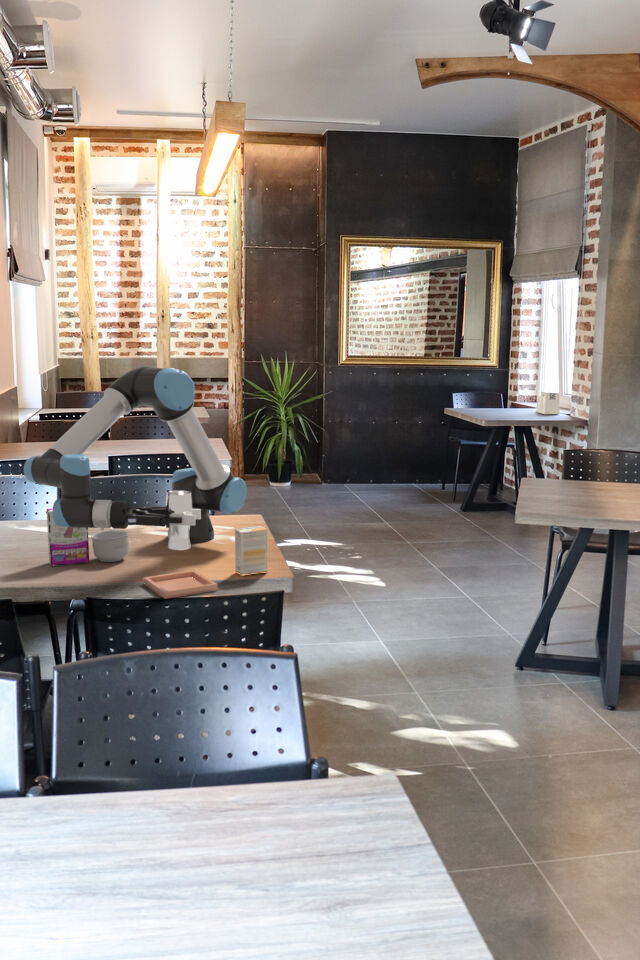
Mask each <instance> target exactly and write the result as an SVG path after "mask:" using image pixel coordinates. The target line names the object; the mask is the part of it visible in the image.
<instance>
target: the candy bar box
mask: <svg viewBox="0 0 640 960" xmlns="http://www.w3.org/2000/svg"><path fill="white" fill-rule="evenodd" d="M52 511H53V507H52V508H46V525H47V544H48V547H47V548H48V561H49V562H50V563H49V565H50V566H51V567H54V566H53V565H62V566H69V565H68V564H72V565H79V564H80V563H82V564H88V563H90V549H89V548H90V547H89V546H90V545H89V528H71V527H63V526H57V525H56V524H55V523H54V521H53V517H52ZM80 565H81V564H80Z"/></svg>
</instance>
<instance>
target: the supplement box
mask: <svg viewBox="0 0 640 960" xmlns="http://www.w3.org/2000/svg"><path fill="white" fill-rule="evenodd" d="M234 541H235V542H234V543H235V544H234V548H235V549H234V550H235V551H234V552H235V553H234V556H235V557H234V558H235V560H234V561H235V563H234V564H235V573H236V572H238V573H240V574H241V575H242V574H251V573H261V572H267V573H268V528H265V527H263V526H261V525H259V526H249V527H241V528H235V529H234Z"/></svg>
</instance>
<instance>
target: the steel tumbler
mask: <svg viewBox="0 0 640 960" xmlns="http://www.w3.org/2000/svg"><path fill="white" fill-rule="evenodd" d="M165 506H166V515H169V517H170V514H185V515H192V496H191V492H190V491H184V490H175V491H172V490H169V491H166V497H165ZM168 529H169V539H168V545H167V549H168V550H171V551H186V550H189V549H191V548H192V545H191V542H190V539H189V530H190V525H170V527H169V528H168Z"/></svg>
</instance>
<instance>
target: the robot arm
mask: <svg viewBox="0 0 640 960" xmlns="http://www.w3.org/2000/svg"><path fill="white" fill-rule="evenodd" d="M195 390H196V387H195V383H194V381H193V380H192V377H191V376H190V375H189V374H188V373H187V372H186V371H184V370H181V369H177V368H173V367H166V368H164V367H151V366H139V367H135V368H133V369H131V370H128V371H126V373H124V374H122V375H121V376H119V377H118V378H117V379H115V380H114V381H113V382H112V383H111V384H110V385H109V386H108V387H107V388H106V389H105V390H104V391H103V396H102V398H100V399H99V401H97V402H96V403H95V404H94V405H93V406H91V408H90V409H89V410H88V411H86V413H85V414H84V415H83V416H81V417H80V419H79V420H77V421H76V422H75V423H74V424H73V425H72V426H71V427H70V428H68V430H67V431H66V432H64V433H63V435H62V436H60V438H59V439H57V440H56V442H54V443H53V444H52V445H51V446H50V447H49V448H48V449H47V450H46V451H45V452H44V453H43V454H42V455H33V456H31V457H29V458H27V460H26V461H25V462H24V465H23V474H24V477H25V478H26V480H28V481H29V482H31V483H33V484H37V485H38V486H39V485H40V486H47V487H53V488H58V489H59V488H60V491H61V494H60V495H61V497H60V498H57V499H56V500H55V501H54V502H53V504H52V508H53V511H52V517H53V521H54V523H55V524H56V525H57V526H63V527H71V528H88V529H90V528H92V529H100V530H101V531H103V530H104V529H111V528H112V529H113V530H115V529H118V530H125V529H127V528H128V527H129V526H146V527H148V526H150V527H165V528H166V529H167V539H168V540H169V527H170V525H190V530H189V539H190V543H201V542H207V541H210V540H213V539H214V538H215V530H214V526H213V523H212V520H211V517H210V514H209V512H210V511H212V512H216V513H222V514H231V515H232V514H235V513H237V512H239V510H241V508H242V507H243V506H244V503H245V501H246V498H247V493H248V491H247V488H248V487H247V484H246V482H245V481H244V479H242V478H241V477H238V476H236V477H235V476H234V475H233V473H232V472H233V471H231V469H230V467H229V466H228V465H227V464H223V463H222V462H221V460H220V459H219V456H218V455H217V453H216V450H215V449H214V446H213V445H212V443H211V441H210V439H209V438H208V437H209V436H208V435H207V434H206V432H205V430H204V428H203V426H202V424H201V423H200V420H199V419H198V417H197V415H196V413H195V411H194V409H193V408H194V405H195V397H196V393H195ZM140 407H146V408H152V409H153V411H154V413H155V414H156V416H157V417H158V418H157V419H159V420H160V421H162V422H165V423H167V425H168V427H169V429H170V430H171V432H172V434H173V436H174V438H175V439H176V442H177V443H178V445H179V447H180V448H181V450H182V452H183V454H184V456H185V457H186V459H187V461H188V463H189V465H190V466H191V467H189V468H181V469H177V470H175V471H174V472H173V473H172V481H171V488H172V489H171V491H175V490H184V491H190V492H191V496H192V515H185V514H170V517H169V515H166V505H165V506H164V505H163V506H159V505H158V506H157V505H156V506H155V505H154V506H153V505H152V506H150V505H148V506H147V505H140V506H134V508H131V507H130V503H129V502H128V501H127V500H114V501H112V500H111V499H92V498H91V497H92V496H91V471H92V470H91V465H90V464H91V463H90V458H89V456H88V455H86V454H84V453H86V452H87V450H89V448H91V447H92V446H93V445H94V443H95V442H97V441H98V439H100V438H101V437H102V436H103V435H104V434H105V433H106V432H107V431H108V429H110V428H111V427H112V426H113V425H114V424H116V422H117V421H118V420H119V419H120V418H121V417H122V416H127V415H129V414H130V413H131V412H132V411H133V410H135V409H137V408H140ZM104 531H105V530H104Z"/></svg>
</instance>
